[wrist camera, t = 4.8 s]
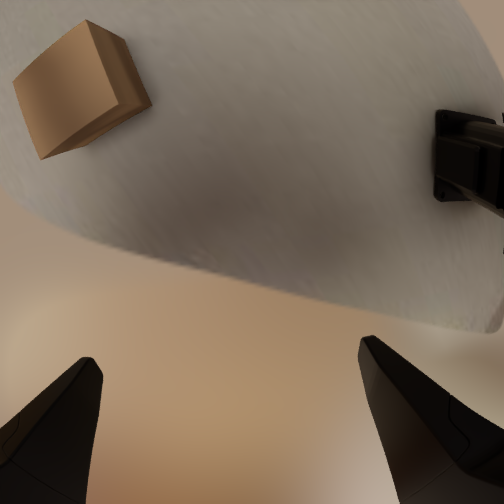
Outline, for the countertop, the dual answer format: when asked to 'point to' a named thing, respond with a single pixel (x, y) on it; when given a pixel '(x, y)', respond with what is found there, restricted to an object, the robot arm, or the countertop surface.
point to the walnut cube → (79, 90)
